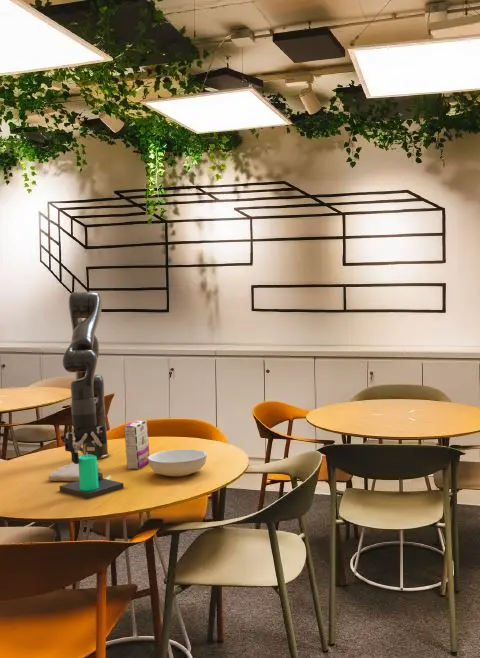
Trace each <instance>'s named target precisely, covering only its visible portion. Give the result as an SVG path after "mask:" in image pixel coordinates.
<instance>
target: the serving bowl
mask: <svg viewBox="0 0 480 658" xmlns="http://www.w3.org/2000/svg"><path fill="white" fill-rule="evenodd" d="M148 461H149V463H148V464H149V466H150V467H149V468H151V470H152V471H153V472H155V473H156V474H158V475H162V476H166V477H171V478H179V477H185V476H189V475H191V474H194V473H196V472H198V471H200V470H201V469H202V468H203V467H204V466H205V464H206V461H207V452H206V451H205V450H202V449H201V450H200V449H192V448H181V449H169V450H162V451H157V452H155V453H152V454H149V457H148Z"/></svg>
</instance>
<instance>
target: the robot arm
mask: <svg viewBox="0 0 480 658" xmlns="http://www.w3.org/2000/svg"><path fill="white" fill-rule="evenodd" d="M102 305H103V304H102V297H101V295H100V294H99V293H97V292H91V291H73V292H71V293H70V294H69V297H68V311H69V315H70V316H69V318H70V323H71V331H72V334H71V342H70V344H69V346H68V347H67V348H66V350H65V352H64V353H63V356H62V367H63V368H64V370H65V371H66V372H67V373H71V374H72V373H75V379H74V380H72V381H71V382H70V396H71V401H70V402H71V403H70V404H71V405H70V406H71V407H70V408H71V409H70V410H71V420H72V421H71V422H72V428H73V431H72V432H65V433H64V438H63V439H62V443H64V450H65V452H69V453H71V463H74V464H79V456H80V455H79V450H80V451H82V456H83V455H87V454H91V455H95V456H96V457H97V460H101V459H105V458H108V457H109V448H108V446H109V445H108V433H107V432H108V431H107V417H106V405H105V404H106V403H105V381H104V377H103V376H102V374H95V373H96V369H97V366H98V365H97V364H98V359H99V356H100V346H99V345H100V344H99V339H98V337H96V335H95V334H96V330H97V327H98V324H99V322H100V318H101V316H102V315H101V313H102V308H103V307H102ZM83 319H84V320H83Z"/></svg>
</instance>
